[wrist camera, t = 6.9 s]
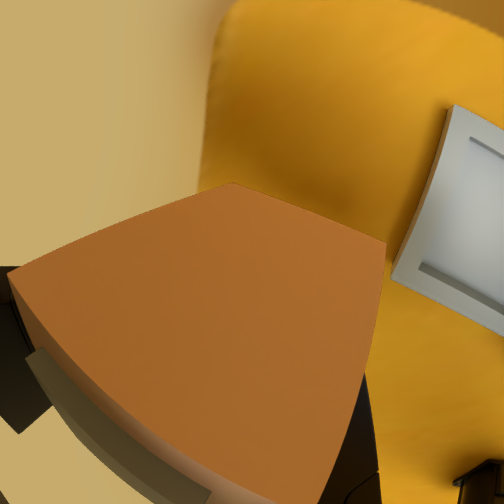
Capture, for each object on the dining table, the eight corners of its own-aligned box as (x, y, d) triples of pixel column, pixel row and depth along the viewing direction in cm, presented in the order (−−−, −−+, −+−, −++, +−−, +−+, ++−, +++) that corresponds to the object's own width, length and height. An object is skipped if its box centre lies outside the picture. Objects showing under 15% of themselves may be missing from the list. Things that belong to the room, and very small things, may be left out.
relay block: (325, 361, 10) (221, 544, 4) (210, 303, 11) (65, 427, 5) (386, 243, 7) (292, 549, 1) (232, 182, 9) (-13, 283, 3)
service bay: (507, 323, 13) (513, 342, 11) (392, 263, 16) (389, 278, 14) (570, 190, 8) (586, 196, 6) (448, 109, 11) (454, 103, 9)
